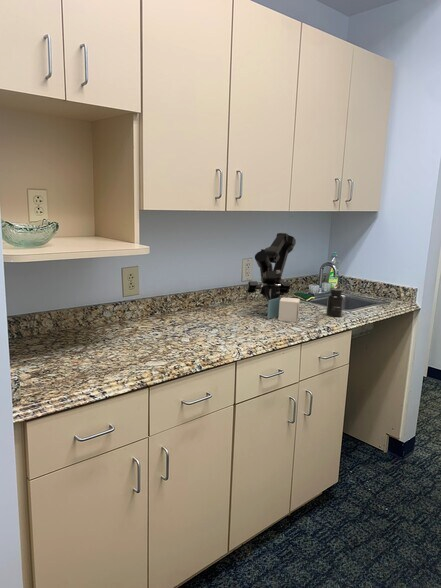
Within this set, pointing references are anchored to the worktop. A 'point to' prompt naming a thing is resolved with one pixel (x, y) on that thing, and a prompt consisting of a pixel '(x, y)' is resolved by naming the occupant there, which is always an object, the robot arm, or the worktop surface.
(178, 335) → the worktop surface
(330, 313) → the supplement bottle
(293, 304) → the carton
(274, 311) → the flap
